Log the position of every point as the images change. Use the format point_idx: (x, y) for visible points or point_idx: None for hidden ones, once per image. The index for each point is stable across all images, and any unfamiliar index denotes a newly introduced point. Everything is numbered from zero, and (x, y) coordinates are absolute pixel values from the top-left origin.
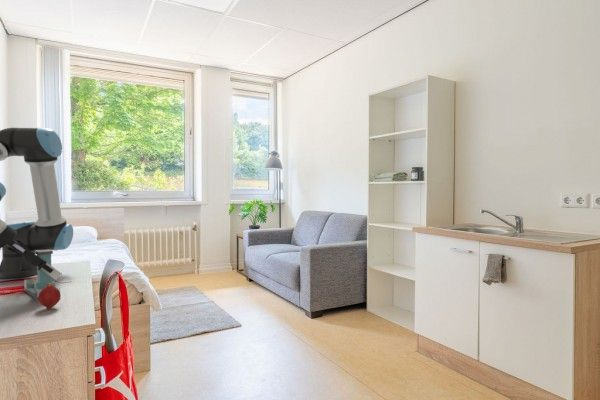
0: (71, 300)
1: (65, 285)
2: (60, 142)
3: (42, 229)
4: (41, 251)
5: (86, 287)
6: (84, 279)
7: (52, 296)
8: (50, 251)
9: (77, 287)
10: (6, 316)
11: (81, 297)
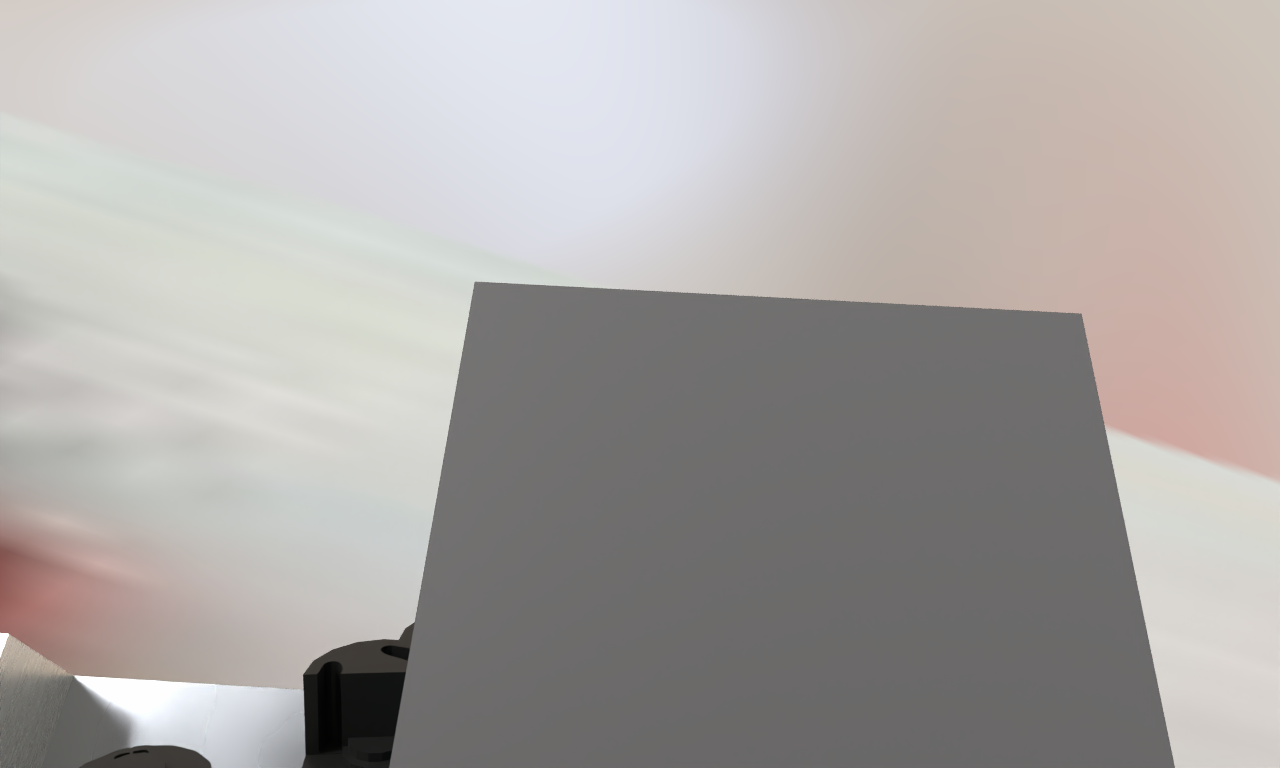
0: (1246, 670)
1: (156, 413)
2: None
3: None
4: (917, 751)
5: (565, 283)
6: (45, 146)
7: None
8: (1084, 405)
9: (455, 352)
10: None
11: (1140, 515)
